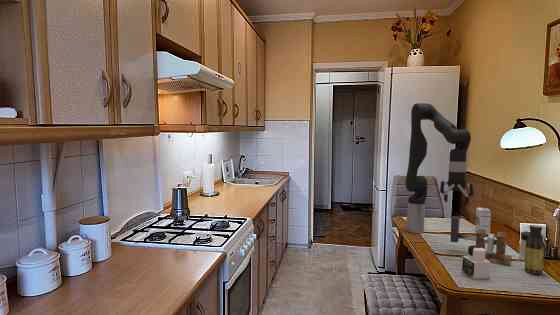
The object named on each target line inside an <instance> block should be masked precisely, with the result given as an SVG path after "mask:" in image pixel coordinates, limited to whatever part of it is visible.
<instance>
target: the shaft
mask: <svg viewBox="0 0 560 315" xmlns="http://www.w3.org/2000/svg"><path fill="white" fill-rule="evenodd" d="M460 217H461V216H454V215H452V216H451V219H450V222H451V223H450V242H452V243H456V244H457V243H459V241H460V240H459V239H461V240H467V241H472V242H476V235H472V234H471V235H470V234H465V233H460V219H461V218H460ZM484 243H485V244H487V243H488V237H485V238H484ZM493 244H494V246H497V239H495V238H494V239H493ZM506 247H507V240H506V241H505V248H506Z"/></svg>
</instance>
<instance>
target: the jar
mask: <svg viewBox="0 0 560 315" xmlns="http://www.w3.org/2000/svg"><path fill="white" fill-rule="evenodd" d="M529 236H530V231H521V232H520V245H519V246H520V247H519V260H522V261H524V262H525V247H526V240H527V239H528V237H529ZM541 239H542V240H543V241H544V235H542V234H541Z"/></svg>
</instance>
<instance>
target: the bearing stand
mask: <svg viewBox="0 0 560 315" xmlns="http://www.w3.org/2000/svg"><path fill="white" fill-rule="evenodd" d="M475 234H476V235H475V236H476V241H475V246H480V247H482V248H484V249H485V259H486V260H488V261H490V264H491V263H492V264H497V265H501V266H506V267H511V266H512V265H511V264H512V255H511V254H510V255H509V254H506V247H505V241H507V232H500V231H498V232H497V235H496V240H497V245H495V246H496V247H495V248H496V249H495V251H496V252H494V251H493V252H492V253H488V252H487V250H486V243H484V238H486V230H483V229H478V231H477V232H476V233H475Z"/></svg>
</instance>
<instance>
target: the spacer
mask: <svg viewBox="0 0 560 315" xmlns="http://www.w3.org/2000/svg"><path fill="white" fill-rule="evenodd" d="M487 238H488V243H486V244H487V245H486V246H487V247H486V251H487V252H488V253H492V252H494V248H495V245H494V244H493V239H495V233H494V234H493V233H490V234H489V235H487Z"/></svg>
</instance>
